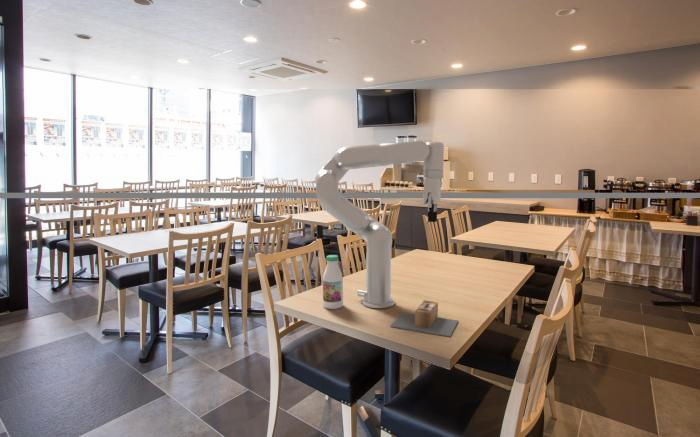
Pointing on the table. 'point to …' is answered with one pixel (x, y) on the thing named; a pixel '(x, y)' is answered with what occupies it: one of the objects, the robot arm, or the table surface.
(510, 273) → the table surface
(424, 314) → the cardboard box
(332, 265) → the milk bottle
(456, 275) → the table surface
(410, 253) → the table surface
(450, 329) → the charcoal mat
